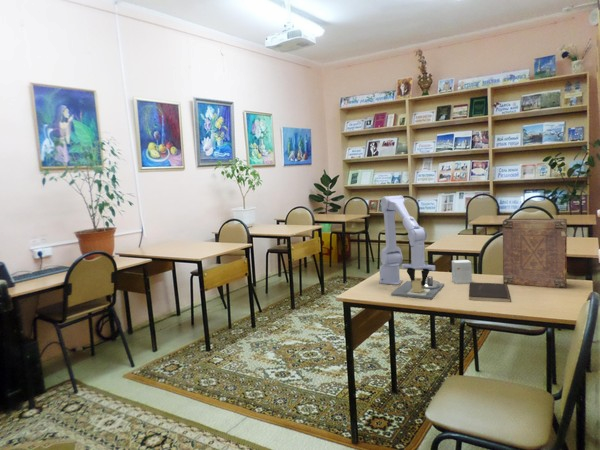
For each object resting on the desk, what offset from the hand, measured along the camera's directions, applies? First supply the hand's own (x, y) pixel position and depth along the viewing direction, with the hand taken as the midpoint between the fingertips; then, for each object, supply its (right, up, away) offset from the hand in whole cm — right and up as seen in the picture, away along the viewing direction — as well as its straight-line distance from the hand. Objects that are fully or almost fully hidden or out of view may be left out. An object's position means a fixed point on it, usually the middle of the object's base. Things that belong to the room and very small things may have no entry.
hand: (418, 285), depth 190 cm
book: (+56, -1, +7) cm, 56 cm away
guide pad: (0, -3, 0) cm, 3 cm away
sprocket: (+6, -2, +10) cm, 12 cm away
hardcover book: (+30, -4, -4) cm, 30 cm away
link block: (0, -2, 0) cm, 2 cm away
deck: (+2, -4, +7) cm, 8 cm away
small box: (+26, -1, +17) cm, 31 cm away
